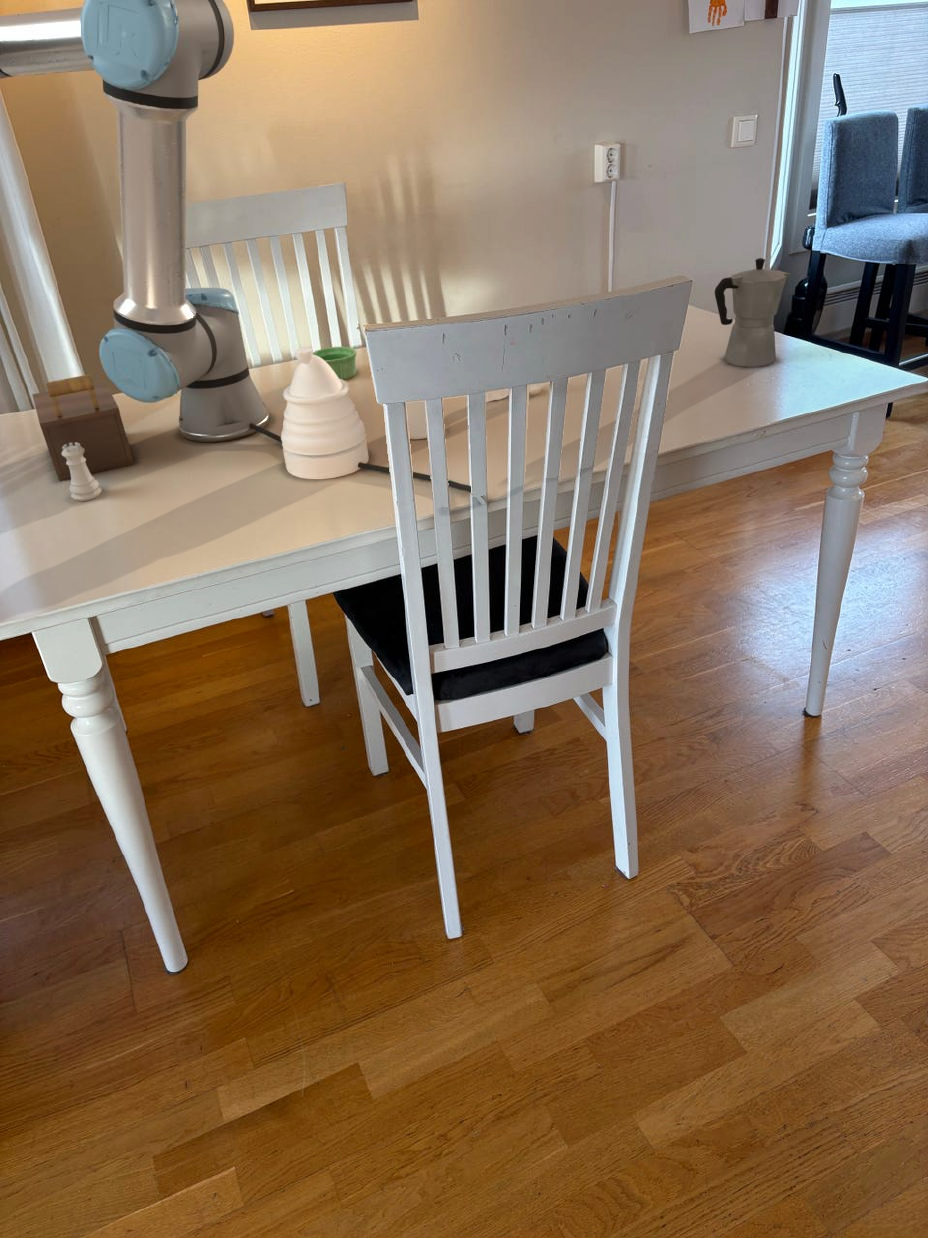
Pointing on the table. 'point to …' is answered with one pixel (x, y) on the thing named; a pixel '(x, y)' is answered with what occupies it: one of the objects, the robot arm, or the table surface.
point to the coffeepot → (751, 314)
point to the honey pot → (321, 423)
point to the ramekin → (339, 360)
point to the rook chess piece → (80, 474)
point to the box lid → (73, 401)
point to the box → (90, 444)
